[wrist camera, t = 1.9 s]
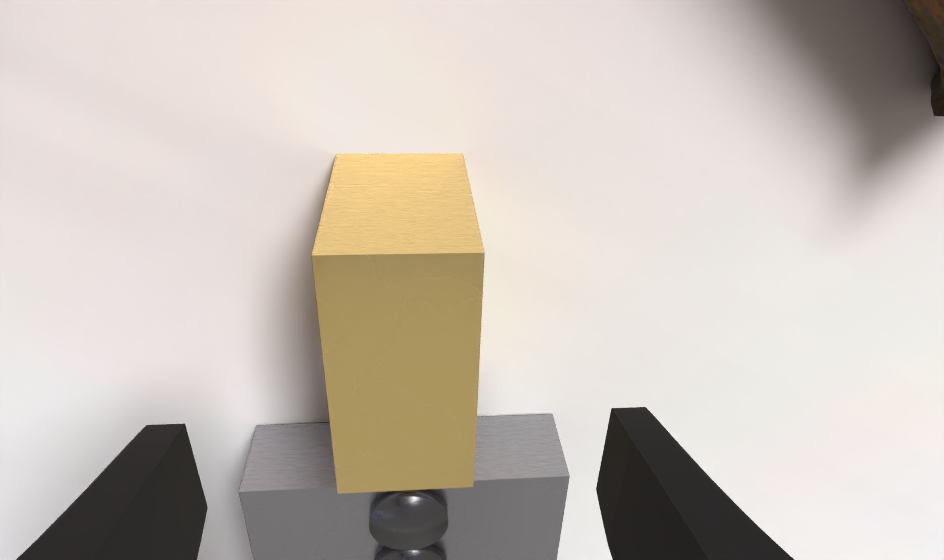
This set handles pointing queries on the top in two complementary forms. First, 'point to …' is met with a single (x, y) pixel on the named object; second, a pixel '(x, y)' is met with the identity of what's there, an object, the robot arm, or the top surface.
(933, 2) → the dark brown elongated piece
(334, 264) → the brass rectangular block
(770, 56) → the top surface
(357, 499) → the chain ends
